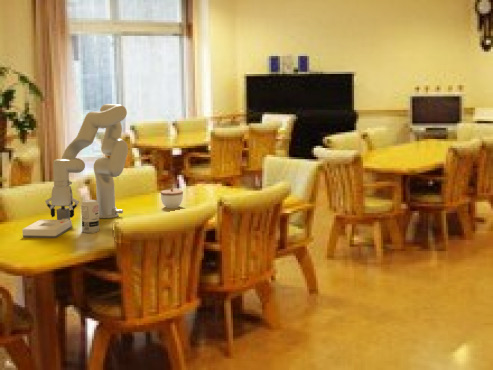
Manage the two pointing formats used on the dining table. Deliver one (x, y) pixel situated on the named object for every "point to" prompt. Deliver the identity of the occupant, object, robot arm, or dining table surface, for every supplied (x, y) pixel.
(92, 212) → the supplement can
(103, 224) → the dining table surface
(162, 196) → the lidded bowl
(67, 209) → the plug
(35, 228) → the socket
